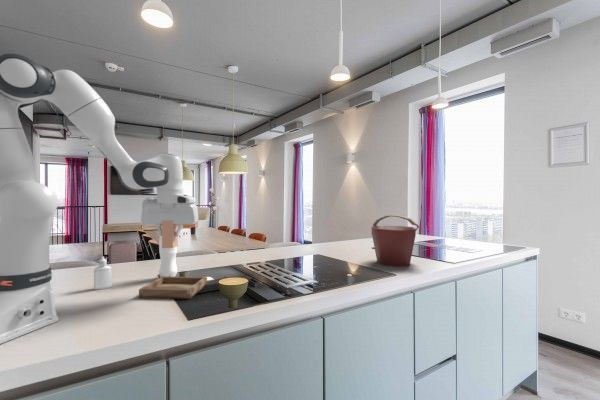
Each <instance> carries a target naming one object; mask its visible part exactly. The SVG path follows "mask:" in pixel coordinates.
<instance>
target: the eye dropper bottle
mask: <svg viewBox="0 0 600 400" xmlns="http://www.w3.org/2000/svg"><path fill="white" fill-rule="evenodd" d="M112 277H113V273H112V266H110V265H108V262H107V259H106V258H105V256H101V258H100V260H98V266H97V267H95V268H94V270H93V289H94V290H95V291H98V290H99V291H100V290H105V289H109V288H112V286H113V278H112Z"/></svg>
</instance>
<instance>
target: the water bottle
mask: <svg viewBox="0 0 600 400" xmlns="http://www.w3.org/2000/svg"><path fill="white" fill-rule="evenodd" d="M158 242H159V243H158V250H159V251H158V253H159V257H160V266H159V270H158V274H159V278H161V277H177V274H178V266H177V260H176V259H177V252H178V247H175V248H162V236H160V235H159V238H158Z"/></svg>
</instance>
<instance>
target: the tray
mask: <svg viewBox="0 0 600 400" xmlns="http://www.w3.org/2000/svg"><path fill="white" fill-rule="evenodd" d="M207 286H208V277H207V276H202V277H201V276H175V277H159V278H157V279H155V280H154V281H152V282H149V283H147V284H146V285H145V286H143V287H140V288H139V289H138V298H139V299H170V300H171V299H177V300H179V299H180V300H181V299H182V300H186V299H188V300H189V299H191V300H192V298H193V297H194V296H196V295H197V294H198V293H199V292H201V291H202V290H203V289H204V288H206V287H207Z"/></svg>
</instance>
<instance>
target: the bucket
mask: <svg viewBox="0 0 600 400" xmlns="http://www.w3.org/2000/svg"><path fill="white" fill-rule="evenodd" d="M391 217H396V218H400V219H403V220H407V222H409V224H411V226H405V225H378V224H379V222H380V221H382V220H384V219H386V218H391ZM414 226H415V227H414ZM419 228H420V226H419V224H418V223H416V222H415V221H414V220H413V218H410V217H406V216H403V215H398V214H397V215H394V214H393V215H392V214H391V215H385V216H383V217H380V218H378V219H376V220H375V221H374V223H372V226H371V237H372V242H373V246H374V252H375V258H376V262H377V263H379V264H380V265H382V266H388V267H395V268H398V267H411V266H410V265H411V262H412V261H411V259H412V255H413V250H414V244H415V240H416V234H417V233H416V231H418V229H419Z"/></svg>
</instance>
